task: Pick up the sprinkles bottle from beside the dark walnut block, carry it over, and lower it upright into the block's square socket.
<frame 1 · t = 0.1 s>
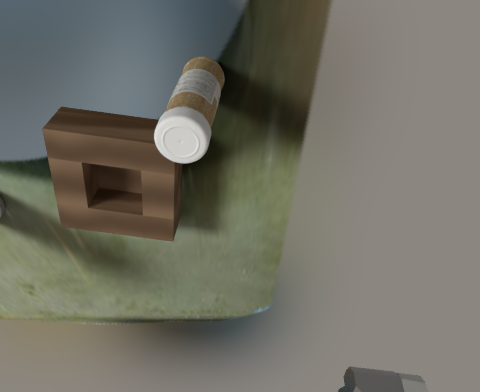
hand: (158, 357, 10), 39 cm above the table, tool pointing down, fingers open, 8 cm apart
sprinkles bottle: (204, 74, 47), on the table
walnut socket block: (125, 165, 55), on the table
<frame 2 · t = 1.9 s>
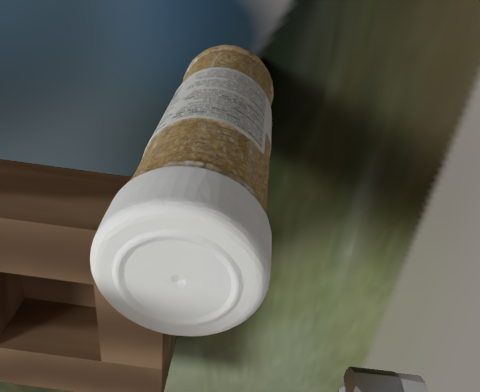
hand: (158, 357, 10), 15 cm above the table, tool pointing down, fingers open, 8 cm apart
sprinkles bottle: (229, 86, 22), on the table
walnut socket block: (73, 258, 29), on the table
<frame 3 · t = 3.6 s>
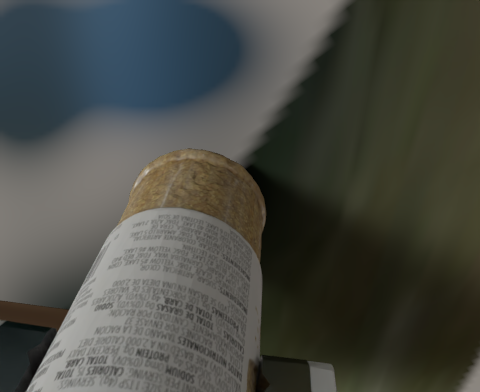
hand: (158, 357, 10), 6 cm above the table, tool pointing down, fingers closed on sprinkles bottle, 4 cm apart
sprinkles bottle: (200, 200, 15), on the table, touching gripper
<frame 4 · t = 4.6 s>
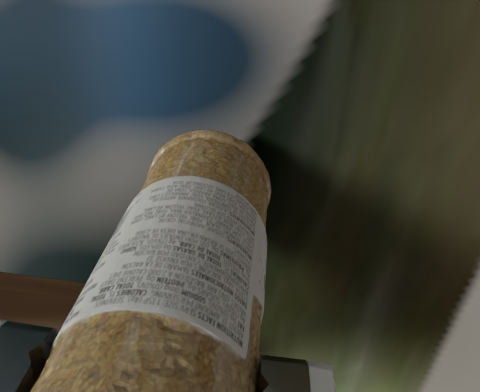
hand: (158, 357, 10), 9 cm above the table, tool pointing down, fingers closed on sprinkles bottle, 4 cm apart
sprinkles bottle: (211, 179, 16), point 1 cm above the table, touching gripper
walnut socket block: (21, 369, 24), on the table
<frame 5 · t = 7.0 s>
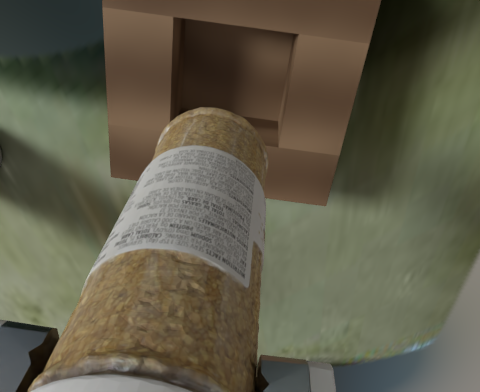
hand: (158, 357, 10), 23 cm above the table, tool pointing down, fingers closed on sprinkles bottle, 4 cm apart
sprinkles bottle: (213, 153, 18), point 13 cm above the table, touching gripper
walnut socket block: (236, 61, 29), on the table
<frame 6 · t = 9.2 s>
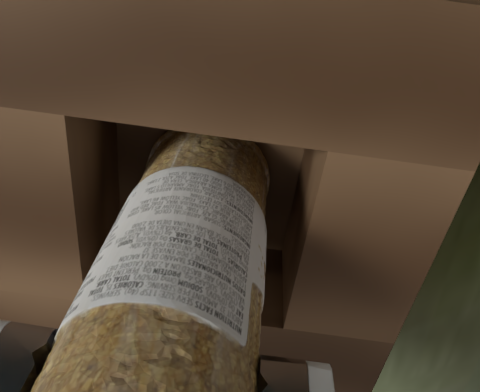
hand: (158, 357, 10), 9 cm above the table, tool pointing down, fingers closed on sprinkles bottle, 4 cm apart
sprinkles bottle: (209, 169, 16), point 1 cm above the table, touching gripper, walnut socket block
walnut socket block: (211, 156, 17), on the table
when the fingers open (9 cm above the table, at t = 9.4 s): sprinkles bottle stays where it is, resting on walnut socket block.
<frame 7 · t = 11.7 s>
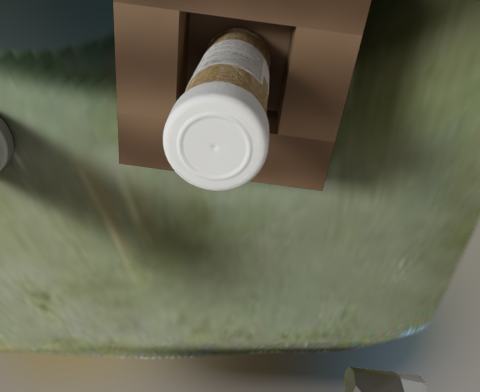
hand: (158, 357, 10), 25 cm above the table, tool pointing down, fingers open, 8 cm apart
sprinkles bottle: (237, 59, 30), point 1 cm above the table, touching walnut socket block
walnut socket block: (237, 54, 31), on the table
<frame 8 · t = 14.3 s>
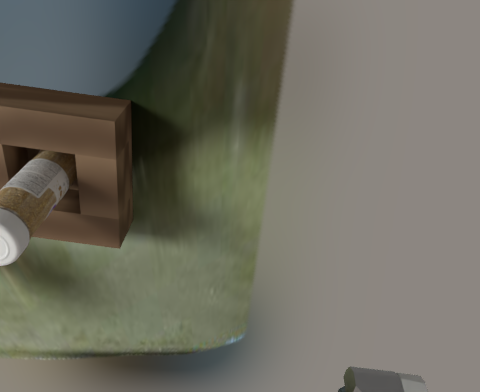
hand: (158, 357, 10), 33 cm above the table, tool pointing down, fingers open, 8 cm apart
sprinkles bottle: (62, 160, 45), point 1 cm above the table, touching walnut socket block
walnut socket block: (64, 156, 45), on the table
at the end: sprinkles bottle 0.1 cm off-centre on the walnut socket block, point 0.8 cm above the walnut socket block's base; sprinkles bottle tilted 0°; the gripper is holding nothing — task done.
